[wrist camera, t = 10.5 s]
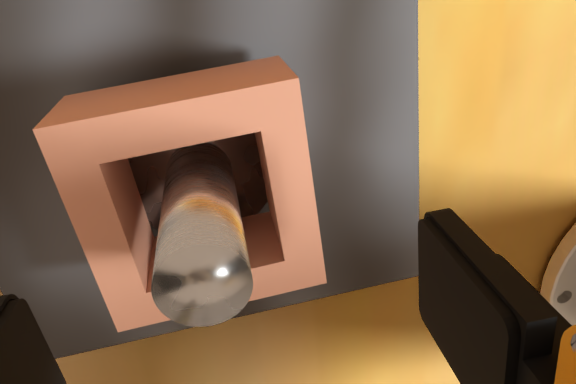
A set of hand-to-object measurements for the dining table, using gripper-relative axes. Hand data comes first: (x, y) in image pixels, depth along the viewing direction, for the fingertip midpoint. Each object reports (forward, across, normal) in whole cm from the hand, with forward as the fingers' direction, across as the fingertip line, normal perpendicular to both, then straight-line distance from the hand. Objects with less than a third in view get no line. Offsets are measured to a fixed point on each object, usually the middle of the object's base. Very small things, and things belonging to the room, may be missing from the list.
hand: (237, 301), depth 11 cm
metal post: (+8, +1, -1) cm, 8 cm away
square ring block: (+7, +1, 0) cm, 7 cm away
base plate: (+10, +1, -1) cm, 10 cm away
